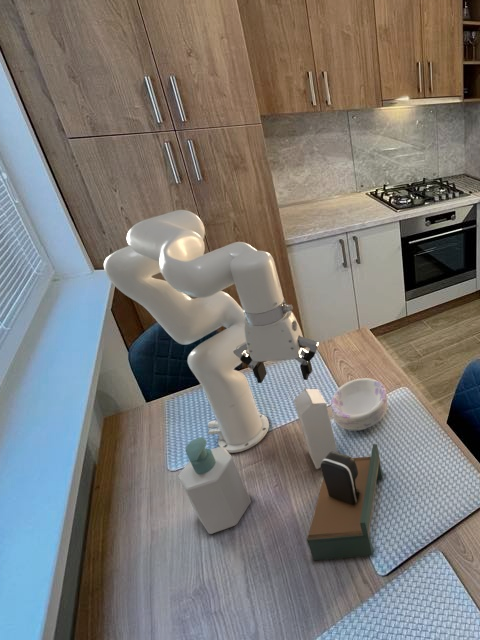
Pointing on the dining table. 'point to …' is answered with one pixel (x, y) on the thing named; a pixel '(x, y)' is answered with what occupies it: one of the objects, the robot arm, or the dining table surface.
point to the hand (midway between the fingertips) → (285, 377)
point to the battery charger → (340, 477)
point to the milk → (315, 425)
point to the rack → (346, 516)
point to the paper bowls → (359, 404)
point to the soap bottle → (214, 486)
